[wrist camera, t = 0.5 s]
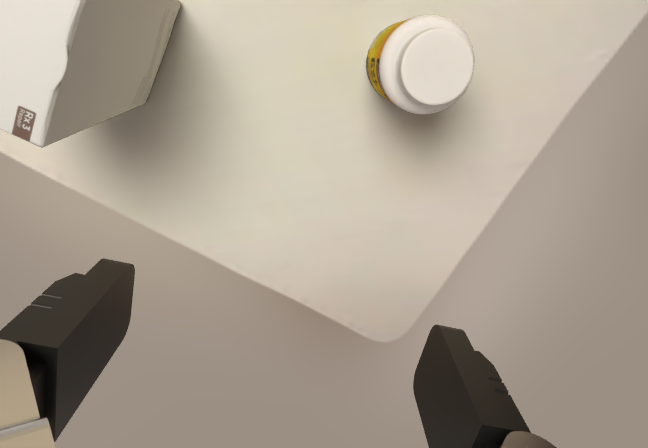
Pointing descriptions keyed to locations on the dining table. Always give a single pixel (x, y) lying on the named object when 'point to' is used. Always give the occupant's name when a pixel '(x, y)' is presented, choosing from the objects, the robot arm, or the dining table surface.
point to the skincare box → (77, 62)
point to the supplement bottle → (421, 63)
